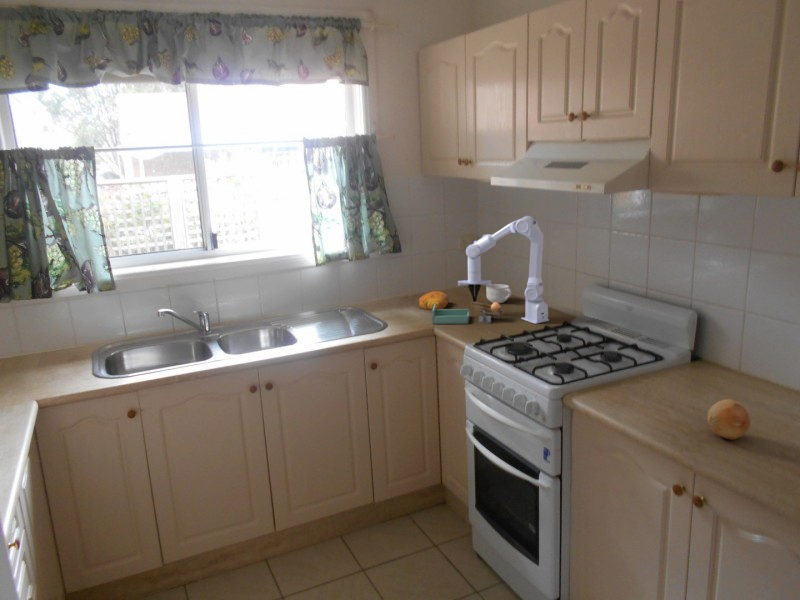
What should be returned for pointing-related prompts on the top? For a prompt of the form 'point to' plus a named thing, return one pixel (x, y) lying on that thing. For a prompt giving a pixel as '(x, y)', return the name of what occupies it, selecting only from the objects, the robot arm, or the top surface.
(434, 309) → the tray
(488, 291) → the teacup
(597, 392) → the top surface
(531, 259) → the robot arm
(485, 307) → the chute
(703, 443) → the top surface
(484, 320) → the launcher stand
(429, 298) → the croissant
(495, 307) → the ball
